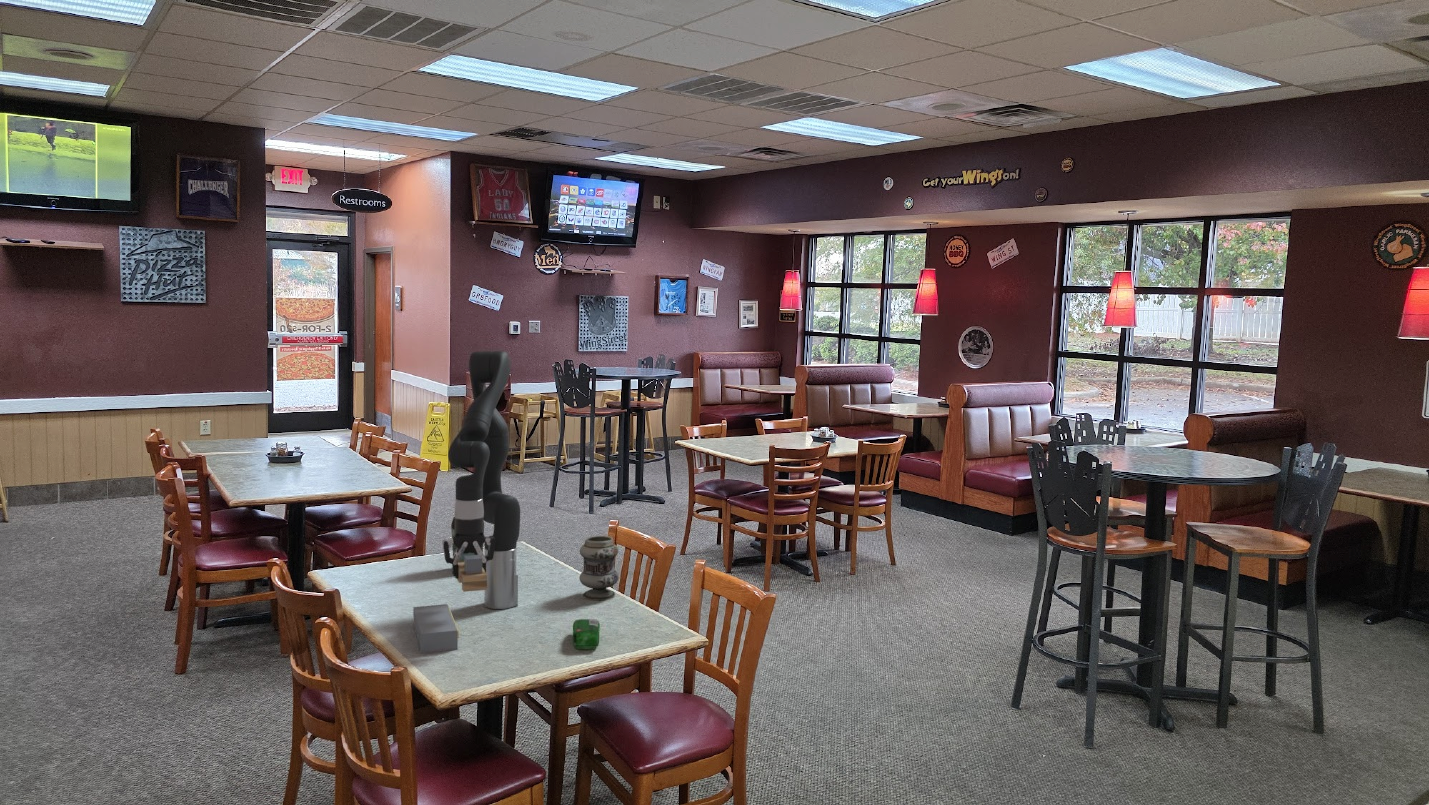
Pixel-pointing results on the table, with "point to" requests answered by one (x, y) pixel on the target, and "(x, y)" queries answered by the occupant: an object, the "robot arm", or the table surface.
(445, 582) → the table surface
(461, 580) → the board
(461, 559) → the block
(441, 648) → the dock
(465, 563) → the block
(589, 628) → the snack package
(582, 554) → the apothecary jar
